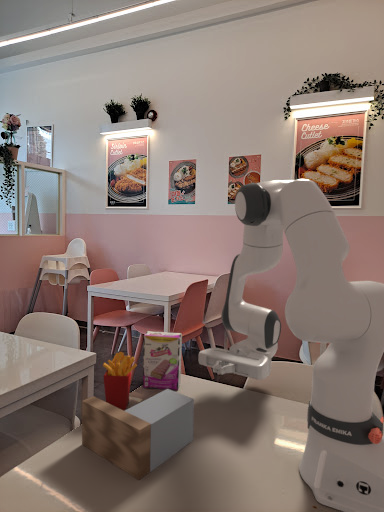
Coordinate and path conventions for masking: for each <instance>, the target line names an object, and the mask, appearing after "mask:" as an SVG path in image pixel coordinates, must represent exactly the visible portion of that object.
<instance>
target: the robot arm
mask: <svg viewBox="0 0 384 512" xmlns="http://www.w3.org/2000/svg"><path fill="white" fill-rule="evenodd" d="M234 209H235V213H236V216H237V219H238V220H239V221H240V222H241V223H242V224H243V235H242V237H243V238H242V248H241V250H240V253H239V254H236V255H235V256H234V258H233V261H232V263H231V267H230V272H229V277H228V282H227V283H228V284H227V289H226V295H225V296H226V297H225V300H224V301H225V302H224V304H223V308H222V310H221V313H220V314H221V315H220V319H221V322H222V325H223V327H224V328H225V329H226V330H227V331H229V332H234V333H239V334H242V335H245V336H247V338H245V339H243V340H241V341H238V342H236V343H234V344H232V345H231V346H230V347H229V349H224V348H219V347H209V348H206V349H202V350H200V351H199V352H198V364H199V365H201V366H205V367H209V368H212V373H215V374H218V375H222V376H223V375H225V374H234V375H238V376H242V377H244V378H245V377H246V378H249V379H254V380H258V381H262V380H265V378H267V377H268V376H270V375H271V372H272V371H271V370H272V358H273V357H274V356H275V354H276V353H277V350H278V347H279V346H278V343H279V339H280V336H281V332H282V323H281V319H280V317H279V314H278V313H277V312H276V311H275V310H273V309H270V308H267V307H264V306H263V307H262V306H258V305H255V304H252V303H249V302H246V301H245V300H244V299H243V297H244V296H243V295H244V289H245V285H246V284H245V283H246V280H247V277H248V276H251V275H256V274H257V275H258V274H261V273H262V274H263V273H265V272H269V271H270V270H272V269H273V268H275V267H276V266H277V265H278V264H279V263H280V262H281V260H282V256H283V249H284V246H283V245H284V235H285V238H286V240H287V243H288V245H289V248H290V249H289V250H290V251H291V255H292V257H293V260H294V264H295V269H296V279H295V285H294V288H293V290H292V291H291V293H290V294H289V296H288V297H287V299H286V303H285V306H284V307H285V308H284V316H285V317H284V318H285V322H286V325H287V326H288V329H289V330H290V331H291V333H292V334H293V335H294V337H295V338H297V339H299V340H300V341H304V342H309V343H319V344H328V345H327V347H326V349H325V350H324V352H322V354H320V355H319V356H318V358H317V359H316V360H315V362H314V364H313V366H312V376H311V378H312V379H311V394H310V395H311V397H310V398H311V399H310V400H309V401H308V407H307V416H306V418H307V419H306V421H307V430H308V433H307V436H306V437H307V438H306V442H305V447H304V451H303V454H302V457H301V459H300V462H299V466H298V470H299V475H300V477H301V478H302V479H303V481H304V482H305V483H306V485H308V487H310V489H311V490H312V493H313V495H314V497H315V500H316V501H317V502H318V503H319V504H321V505H323V506H327V507H330V508H332V509H335V510H338V511H340V512H384V417H383V416H381V417H380V419H379V418H378V416H377V415H375V413H374V412H373V406H374V405H373V403H374V394H375V393H374V392H375V381H376V376H377V372H378V367H379V365H380V362H381V359H382V357H383V355H384V283H383V282H378V281H374V280H357V281H356V280H355V281H349V280H348V279H347V278H346V277H345V273H344V270H343V269H344V268H343V262H344V261H345V260H346V258H347V257H348V255H349V253H350V243H349V241H348V239H347V237H346V234H345V232H344V229H343V228H342V226H341V223H340V221H339V220H338V219H339V218H338V216H337V215H336V213H335V211H334V208H333V207H332V205H331V204H330V201H329V200H328V198H327V197H326V195H325V194H324V193H323V191H322V189H321V187H320V185H319V184H318V183H317V182H316V181H314V180H310V179H307V178H298V179H283V180H281V179H274V180H272V179H271V180H266V181H261V182H249V183H246V184H244V185H242V186H240V187H239V188H238V190H237V191H236V193H235V197H234Z"/></svg>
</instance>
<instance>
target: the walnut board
mask: <svg viewBox="0 0 384 512" xmlns="http://www.w3.org/2000/svg"><path fill="white" fill-rule="evenodd" d="M81 417H82V418H81V441H82V442H81V443H82V445H83V446H84V447H85V448H87V449H89V450H90V451H91V452H93V453H95V454H97V455H99V456H100V457H101V458H103V459H105V460H106V461H108V462H109V463H111V464H112V465H114V466H116V467H118V468H119V469H121V470H122V471H124V472H125V473H127V474H128V475H130V476H132V477H134V478H135V479H137V480H138V481H140V480H141V479H142V478H144V477H145V476H147V475H148V474H149V473H151V472H150V444H151V423H148V422H146V421H144V420H142V419H140V418H138V417H136V416H134V415H132V414H130V413H128V412H126V411H123V410H121V409H119V408H117V407H115V406H113V405H111V404H109V403H107V402H106V400H102V399H100V398H98V397H97V396H94V395H92V396H91V397H88V398H86V399H83V400H81Z"/></svg>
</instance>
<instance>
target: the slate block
mask: <svg viewBox="0 0 384 512" xmlns="http://www.w3.org/2000/svg"><path fill="white" fill-rule="evenodd" d="M194 407H195V398H193V397H190V396H187V395H185V394H182V393H179V392H177V391H175V390H171V389H163V390H162V391H160V392H158V393H157V394H154V395H153V396H151V397H148V398H147V399H144V400H142V401H141V402H138V403H137V404H135V405H133V406H131V407H130V408H126V410H125V411H126V412H128V413H130V414H132V415H134V416H136V417H138V418H140V419H142V420H144V421H146V422H148V423H151V444H150V472H149V473H151V472H153V471H154V470H156V469H157V468H158V467H159V466H161V465H162V464H163V463H165V462H166V461H168V460H169V459H170V458H171V457H173V456H174V455H175V454H177V453H178V452H179V451H181V450H182V449H183V448H185V447H186V446H188V445H189V444H190V443H191V442H193V441H194V418H195V417H194V415H195V414H194V412H195V411H194V410H195V409H194Z"/></svg>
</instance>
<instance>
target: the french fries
mask: <svg viewBox="0 0 384 512" xmlns="http://www.w3.org/2000/svg"><path fill="white" fill-rule="evenodd" d="M135 360H136V358H135V357H134V356H131V355H125V354H124V352H123V351H119V352H116V353H115V355H114V357H113V359H112V360H110V359H108V360H107V362H108V363H106V362H103V365H102V367H103V368H104V369H106V371H105V372H104V374H103V387H104V395H105V397H104V398H105V402H107V403H109V404H111V405H113V406H115V407H117V408H119V409H121V410H123V411H125V410H127V409H128V406H129V401H130V400H129V399H130V392H131V382H132V371H133V370H134V369H135V368H136V367H137V366H138V365H137V364H136V363H134V362H135ZM132 364H133V365H132Z"/></svg>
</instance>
